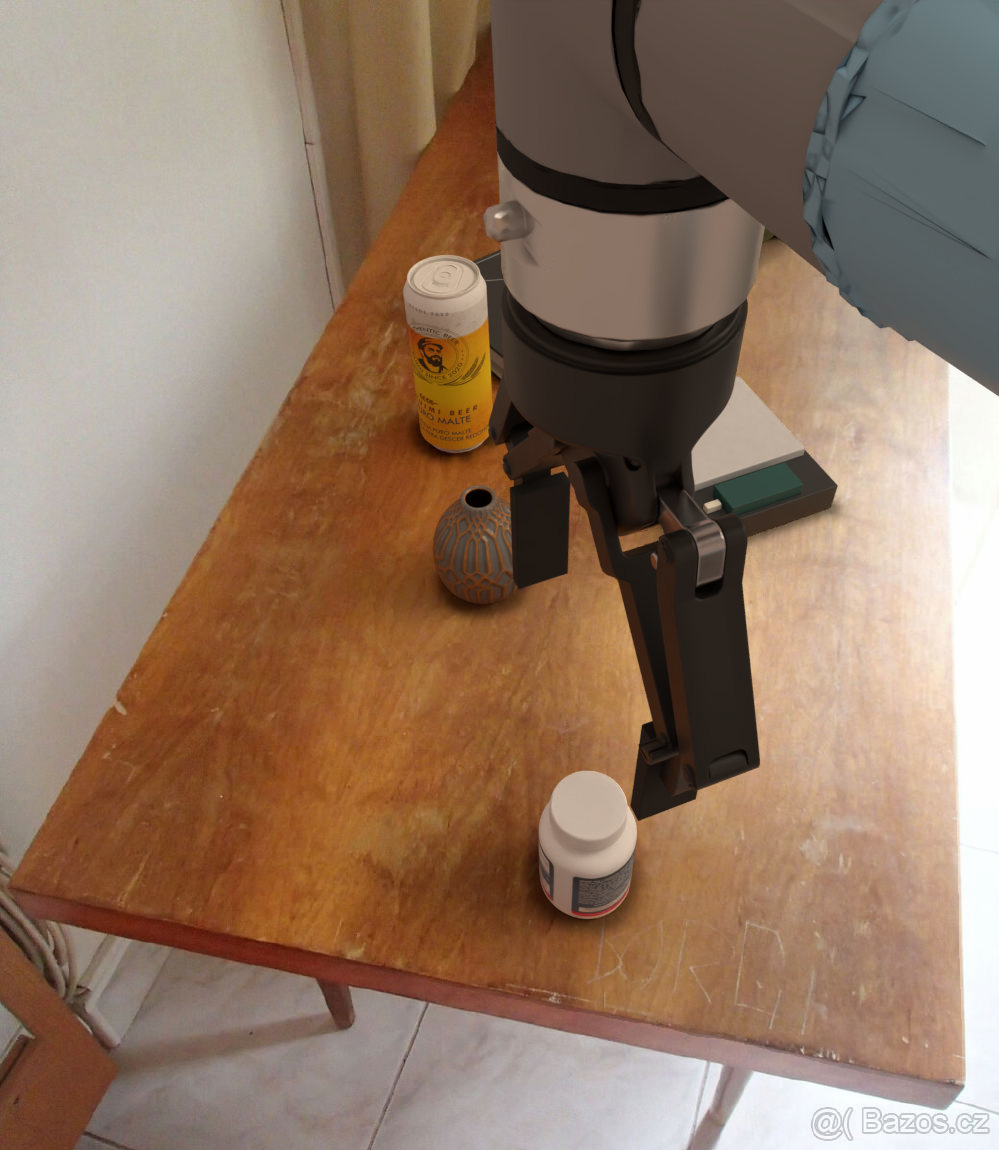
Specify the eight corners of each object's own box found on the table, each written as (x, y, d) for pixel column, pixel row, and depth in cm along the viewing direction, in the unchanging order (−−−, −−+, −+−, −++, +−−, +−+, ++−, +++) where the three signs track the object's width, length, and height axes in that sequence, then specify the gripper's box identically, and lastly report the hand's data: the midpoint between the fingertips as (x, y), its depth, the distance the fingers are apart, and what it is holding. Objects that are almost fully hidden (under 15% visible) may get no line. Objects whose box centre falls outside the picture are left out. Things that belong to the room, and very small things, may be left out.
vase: (533, 618, 70) (532, 534, 63) (435, 620, 70) (424, 537, 63) (530, 545, 74) (529, 459, 67) (438, 547, 74) (428, 462, 68)
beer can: (410, 449, 81) (388, 292, 70) (436, 403, 85) (419, 246, 74) (479, 463, 80) (469, 305, 69) (503, 416, 84) (496, 258, 72)
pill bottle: (646, 863, 58) (660, 790, 51) (602, 938, 55) (610, 872, 48) (568, 818, 60) (571, 742, 53) (522, 888, 57) (518, 818, 50)
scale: (831, 507, 76) (841, 475, 73) (693, 556, 73) (698, 524, 70) (734, 399, 84) (740, 367, 81) (608, 439, 81) (610, 407, 79)
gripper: (387, 129, 37) (435, 521, 53) (717, 623, 21) (642, 962, 38) (572, 91, 38) (564, 483, 54) (1004, 525, 23) (813, 891, 39)
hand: (596, 679), depth 46 cm, fingers open, 13 cm apart
